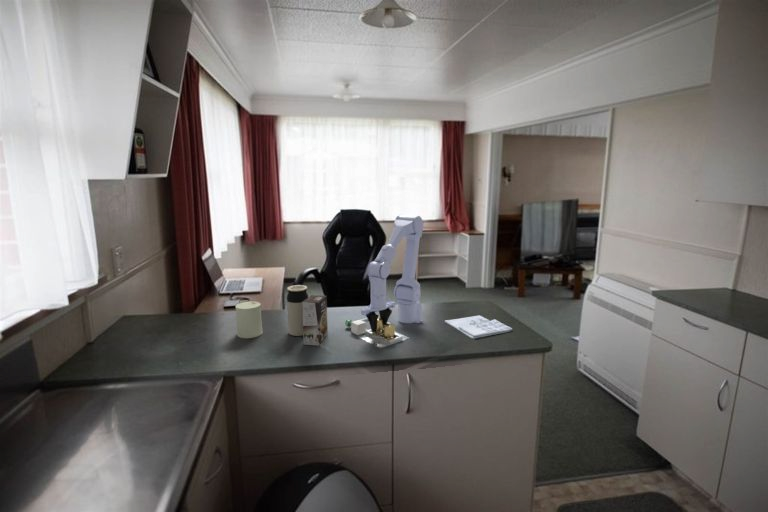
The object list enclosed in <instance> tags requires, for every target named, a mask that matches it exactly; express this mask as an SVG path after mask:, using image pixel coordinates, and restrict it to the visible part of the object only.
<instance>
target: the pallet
mask: <svg viewBox="0 0 768 512" xmlns="http://www.w3.org/2000/svg"><path fill="white" fill-rule="evenodd" d="M358 338H359V339H360V340H363V341H365V342H367V343H368V344H370V345H373V346H375V347H377V348H379V349H382V348H385V347H388V346H391V345H394V344H397V343H400V342H402V341H405V340H408V339H410V337H409V336H406V335H404V334H402V333H400V332H398V331H395V338H393V339H390V340H387V339H385V338H384V329H383V333H382V334H379V335H376V334H374V333H372V330H371V328H369V329H368V330H367V331H366V333H365V334H364V335H363V334H362V335H358Z"/></svg>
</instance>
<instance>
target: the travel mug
mask: <svg viewBox="0 0 768 512" xmlns="http://www.w3.org/2000/svg"><path fill="white" fill-rule="evenodd" d="M286 289H287V292H288V294H287V296H286V305H287V306H286V307H287V325H288V327H287V328H288V334H289V335H291V336H295V337H302V336H303V309H302V302H303V301H304V300H305V299H307V298H308V297H309V294H308V292H307V290H308V286H307V285H303V284H295V285H290V286H287V288H286Z"/></svg>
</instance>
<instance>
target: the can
mask: <svg viewBox="0 0 768 512" xmlns="http://www.w3.org/2000/svg"><path fill="white" fill-rule="evenodd" d="M261 305H262V303H261V302H259V301H252V300H251V301H245V302H244V301H242V302H240V303H237V304H236V305H235V311H236V312H235V313H236V314H235V316H236V328H237V337H238V338H240V339H253V338H257V337H260V336H261V335H262V334H263V332H264V331H263V325H262V323H263V322H262V308H261Z"/></svg>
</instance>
